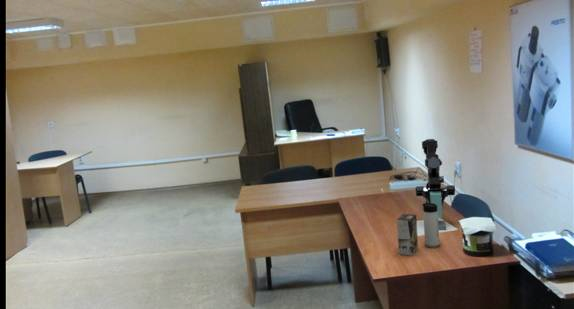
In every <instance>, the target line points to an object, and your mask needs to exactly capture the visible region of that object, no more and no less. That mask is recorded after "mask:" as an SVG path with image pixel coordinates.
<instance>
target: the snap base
mask: <svg viewBox="0 0 574 309" xmlns="http://www.w3.org/2000/svg"><path fill="white" fill-rule="evenodd" d="M445 221H446V220H444V221H438V227H439V230H446V224H445Z"/></svg>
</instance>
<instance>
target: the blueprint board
mask: <svg viewBox="0 0 574 309" xmlns="http://www.w3.org/2000/svg"><path fill="white" fill-rule="evenodd" d="M438 221H445V224H446V230H439V234H440V233H446V232H453V231H458V230H459V229H458V228H456V227H455V226H453V225H452V224H450V223H449V222H447V221H446V220H444V219H443V218H438ZM422 236H423V237H424V236H425V234H424V219H421V220H417V237H422Z"/></svg>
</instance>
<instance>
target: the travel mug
mask: <svg viewBox="0 0 574 309" xmlns="http://www.w3.org/2000/svg"><path fill="white" fill-rule="evenodd" d="M421 205H422V212H423V214H422V215H423V220H424V234H425V235H424V245H425V247H427V248H430V249H433V248H435V249H436V248H438V247H439V245H440V233H439V227H438V209H437V205H435V204H433V203H426V202H423V203H422V204H421Z"/></svg>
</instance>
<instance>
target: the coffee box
mask: <svg viewBox="0 0 574 309" xmlns="http://www.w3.org/2000/svg"><path fill="white" fill-rule="evenodd" d="M417 221H418V220H417V214H414V213H413V214H411V213H402V214H401V215H400V216H399V217H398V218H397V219H396V224H397V225H396V226H397V227H396V228H397V229H396V230H397V242H398V243H397V244H398V254H399V255H404V256H405V255H406V256H414V254H415V252H417V251H418V249H419V242H418V240H419V239H418V236H417Z"/></svg>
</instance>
